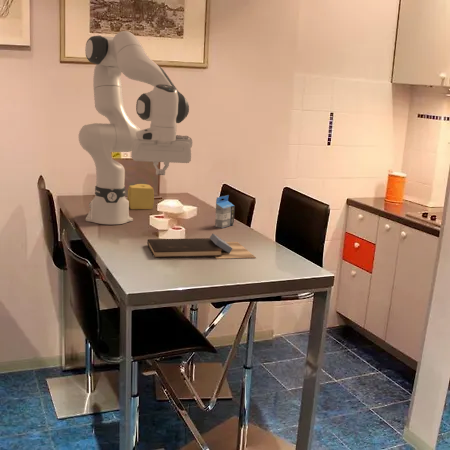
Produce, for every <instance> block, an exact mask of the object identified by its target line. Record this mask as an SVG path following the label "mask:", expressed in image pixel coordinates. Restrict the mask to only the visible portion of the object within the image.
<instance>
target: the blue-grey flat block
mask: <svg viewBox="0 0 450 450" xmlns="http://www.w3.org/2000/svg"><path fill="white" fill-rule="evenodd" d="M209 238H210V239H211V240H212V241H213V242H214V243H215V244H216V245H217V246H219V247H220V248H222V249H223V250H225V251H226V252H228V253H230V252H231V250H232V248H231V247H230V246H229V245H228V244H227V243H226V242H227V241H225V240H224V239H222V238H221V237H219V236H218V235H217V234H214V233H212V234H211V235H210V237H209Z"/></svg>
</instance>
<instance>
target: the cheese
mask: <svg viewBox="0 0 450 450" xmlns="http://www.w3.org/2000/svg"><path fill="white" fill-rule="evenodd" d="M126 199H127V200H128V201H129V210H153V207H154V202H155V190H154V187H152V186H151V185H150V184H148V183H147V184H146V183H137V184H134V185H133V184H132V185H129V186H128V188H127V197H126Z"/></svg>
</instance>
